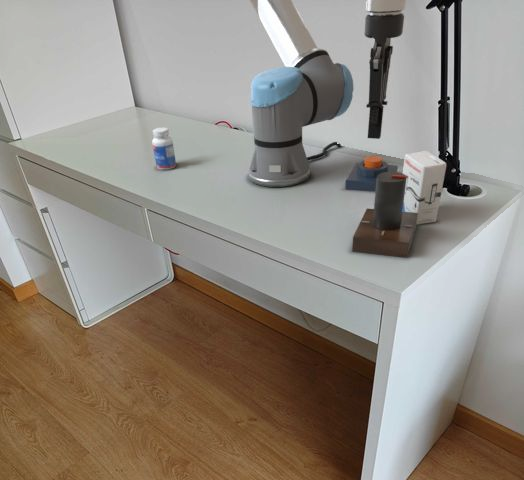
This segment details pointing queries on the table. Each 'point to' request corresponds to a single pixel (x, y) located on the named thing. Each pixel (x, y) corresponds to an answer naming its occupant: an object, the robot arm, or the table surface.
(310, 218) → the table surface
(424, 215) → the ink box
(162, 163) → the pill bottle
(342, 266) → the table surface
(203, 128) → the table surface
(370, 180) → the button box
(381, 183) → the dial knob
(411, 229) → the block
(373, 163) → the button
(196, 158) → the table surface
